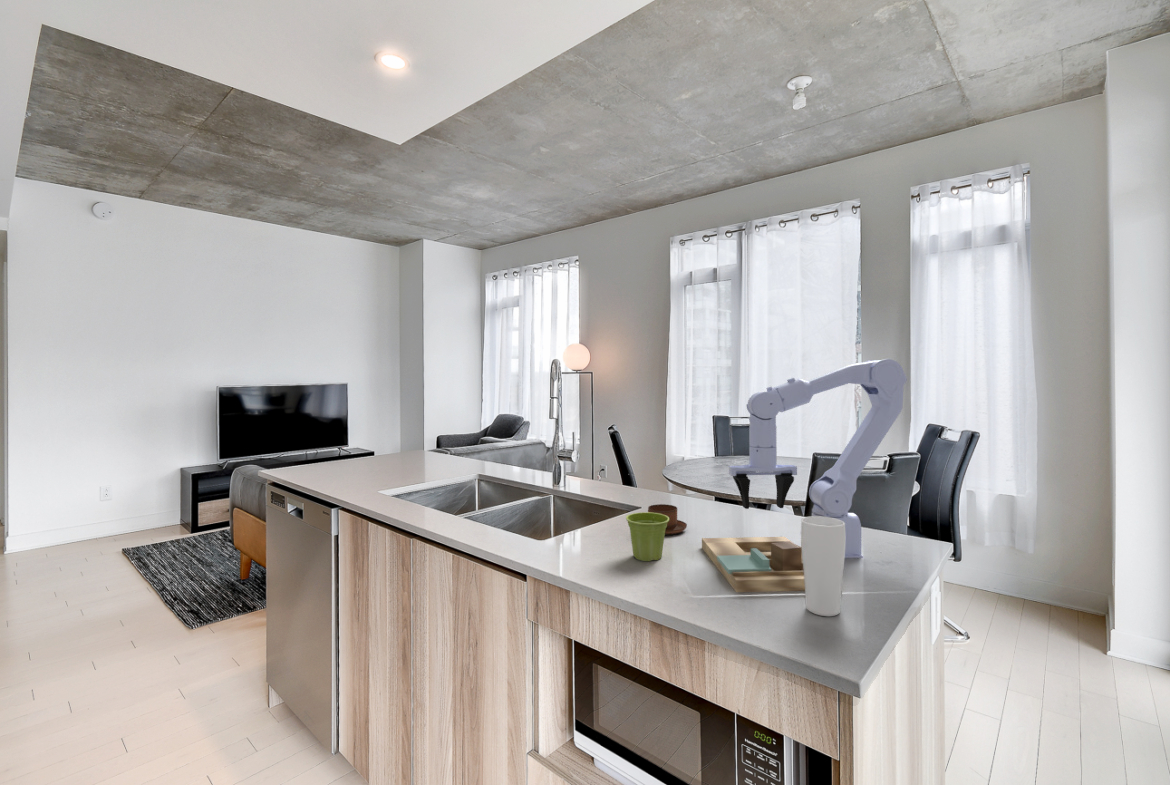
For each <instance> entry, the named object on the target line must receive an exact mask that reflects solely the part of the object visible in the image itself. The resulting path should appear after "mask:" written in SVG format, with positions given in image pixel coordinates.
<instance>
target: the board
mask: <svg viewBox="0 0 1170 785" xmlns="http://www.w3.org/2000/svg"><path fill="white" fill-rule="evenodd" d="M787 541H789V542H792V541H791V540H790V539H788V538H787V537H786V536H757V537H755V536H754V537H753V536H752V537H745V536H744V537H707V538H706V537H705V538H703V537H702V538H701V548H702V550H703V551H704V553H705V554H706V555H707V557H709V559H710V560H711V561H712V563H713V564H714V566H715V567H716V568H717V570H719V572H720V573H721V574H722V575H723V577H724V578H725V579H726V581H727V582H728V584H730V586H731V587H732V588H733V590H734V591H735V592H736V593H755V592H756V593H760V592H764V593H765V592H802V591H804V592H805V583H804V572H803V561H802V570H801V571H774V570H773V569H772V568H771V543H776V542H787ZM792 543H794V542H792ZM751 548H757V549H758V550H759V551H760V552H761V553H762V554H764V555H765V556H766V557H767V558H768V559H769V567H770V568H771V571H753V572H732V574H728V572H727V571H726V570H725V569H724V568H723V566H722V565H721V564H720V563H719V561H718V560H717V556H727V555H751Z"/></svg>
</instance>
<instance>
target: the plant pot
mask: <svg viewBox="0 0 1170 785" xmlns="http://www.w3.org/2000/svg"><path fill="white" fill-rule="evenodd" d="M625 519H626V521H627V525H628V527H629V533H630V540H631V546H632V556H633V557H635V559H636V560H638V561H642V562H651V561H654V560H655V561H659V560H660V559H661V558H663V557H662V556H663V549H664V540H665V536H666V535H665V529H666V527H667V522H669V517H668V516H666V515H663V514H659V513H651V512H648V511H647V512H646V511H645V512H634V513H629V514H628V515H626V517H625Z"/></svg>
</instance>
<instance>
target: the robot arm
mask: <svg viewBox="0 0 1170 785" xmlns="http://www.w3.org/2000/svg"><path fill="white" fill-rule="evenodd" d="M907 380H908V378H907V375H906V373H905V371H904V369H903V366H902V365H901V364H900V363H899V362H898V361H897V360H895V359H892V358H885V359H884V358H883V359H881V360H879V359H878V360H874V359H868V360H865V361H863V362H858V363H852V364H849V365H845V366H843V367H840V368H838V369H835V370H832V371H830V372H828V373H825V374H823V375H821V376H818V377H816V378H813V379H811V380H805V379H802V378H795V377H791V378H788V379H786V382H785V383H782V384H779V385H776V386H774V387H772V386H771V385H770V386H768V387H766V391H758V392H754V393H753V394H752V395H751V396H750V397H749V398H748V401H747V404H746V409H747V412H748V413H749V426H748V429H749V430H748V431H749V433H748V434H749V438H748V439H749V440H748V442H749V443H748V444H749V445H748V446H749V449H748V450H749V453H748V454H749V456H748V457H749V464H741V465H729V466H728V470H729V471H728V474H729V475H730V476H731V477H732V478H733V480H734V482H735V484H736V487H737V489H738V491H739V494H740V498H741V502H742V507H743V508H744V509H745V510H749V508H750V497H749V496H750V485H751V479H750V478H749V477H748V476H774V477H775V485H776V486H775V487H776V506H777V507H778V508H780V509H784V506H785V501H786V498H787V496H788V493H789V490H790V489H791V487H792V484H793V483H794V481H795V476H798V466H797V465H795V464H777V462H778V461H777V459H778V458H777V452H778V451H777V450H778V449H777V415H778V414H779V413H783V412H784V413H785V412H787V411H790V410H792V409H794V408H798V407H800V406H804V405H806V404H809V403H810V402H811V400H812V398H813V396H814V395H817V394H820V393H823V392H825V391H826V392H827V391H829V390H830V391H831V390H832V389H835V388H839V387H841V386H845V385H848V384H851V385H860V386H861V388H862V389H863V390H864V391H865V392H866V394H867V396H868V398H869V401H870V403H871V407H870V409H869V410H868V412H867V413H866V416H865V417H864V418H863V419H862V421H861V423H860V424H859V426H858V428H857V429H856V430H855V433H854V434H853V435H852V437H851V438H850V440H848V443H847V444H846V446H845V448H844V449H843V451H842V453H841V454H840V456H839V457H838V459H837V460H836V462H835V463H834V465H833V466H832V467H831V468H829V469H827V470H826V471H824V473H823V475H822V476H821V477H819V478H818V479H816V480H815V481H813V482H812V483H811V485H810V486H809V491H808V496H809V498H810V500H811V502H812V503H813V507H812V508H811V516H822V517H830V518H835V519H839V520H841V521H843V522H844V523H845V537H846V543H845V559H861V558H862V559H863V558H864V555H863V554H862V524H861V520H860V518H859V516H858V515H857V514H856V513H854V512H849V511H850V509H851V507H852V504H853V498H854V494H855V493H856V491H857V480H858V478H859V476H860V475H861V473H862V472H863V471H864V469H865V467H866V466H867V465H868V463H869V461H870V460H871V458H872V457H873V455H874V453H875V452H876V451H877V449H878V447H879V446H880V445H881V443H882V441H883V439H885V437H886V435H887V433H888V432H889V431H890V429H891V428H892V426H893V425H894V423H895V422H896V420H897V418H898V417H899V415H900V414H901V412H902V410H903V403H904V387H905V384H906V382H907Z"/></svg>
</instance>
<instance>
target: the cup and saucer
mask: <svg viewBox="0 0 1170 785" xmlns="http://www.w3.org/2000/svg"><path fill="white" fill-rule="evenodd" d="M647 512H651V513H659V514H663V515H666V516H668V517H669V522H667V527H666V529H665V536H669V535H676V534H680V533H682V532H683V531H685V530H686V529H687V527H688V524H687V523H686V522H684V521H682V520H679V519H678V507H677V506H675V505H672V504H665V503H663V504H662V503H661V504H658V503H657V504H651V505H649V506H648V507H647Z"/></svg>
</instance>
